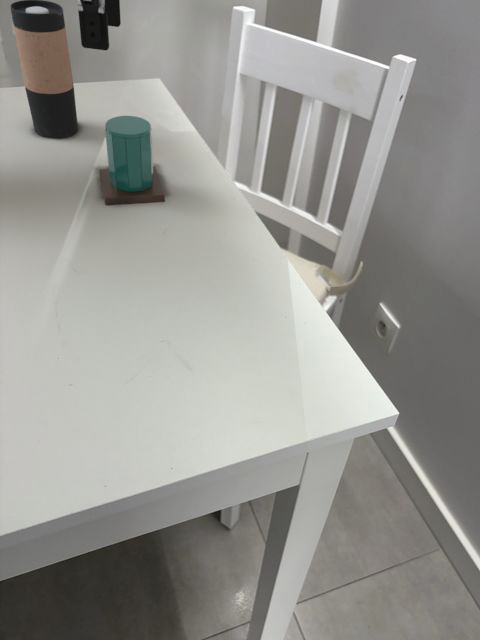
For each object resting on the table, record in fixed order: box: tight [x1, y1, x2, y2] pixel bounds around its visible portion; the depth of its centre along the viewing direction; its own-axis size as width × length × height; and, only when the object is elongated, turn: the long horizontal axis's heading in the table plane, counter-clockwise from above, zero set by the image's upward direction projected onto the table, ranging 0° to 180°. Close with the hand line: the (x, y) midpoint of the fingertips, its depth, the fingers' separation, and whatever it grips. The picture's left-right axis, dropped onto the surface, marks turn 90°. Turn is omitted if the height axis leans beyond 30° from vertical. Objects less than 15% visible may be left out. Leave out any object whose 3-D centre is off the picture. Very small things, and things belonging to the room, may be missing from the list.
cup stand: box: [98, 166, 166, 206], centre depth 84 cm, size 9×9×8 cm
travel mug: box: [9, 0, 79, 140], centre depth 90 cm, size 8×8×20 cm
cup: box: [104, 115, 154, 192], centre depth 83 cm, size 6×7×9 cm
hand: (102, 36), depth 70 cm, fingers open, 9 cm apart
